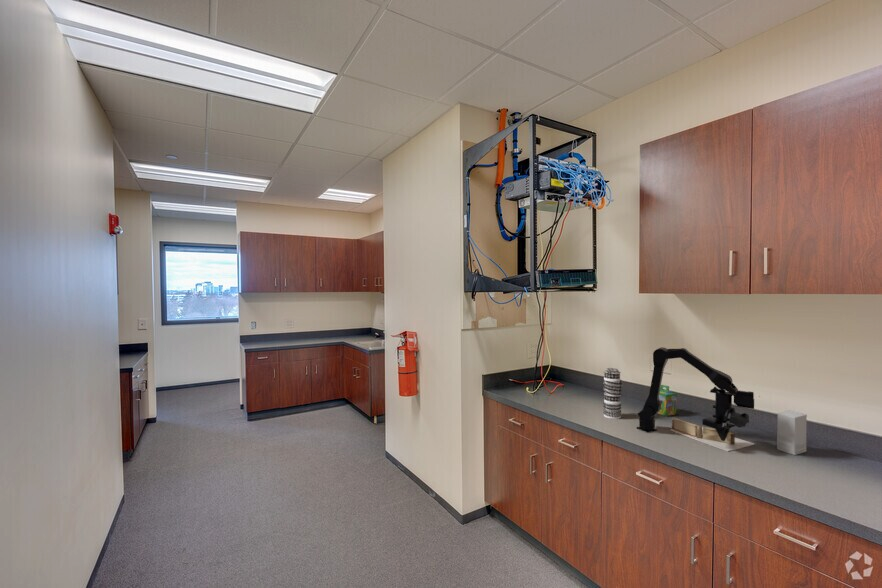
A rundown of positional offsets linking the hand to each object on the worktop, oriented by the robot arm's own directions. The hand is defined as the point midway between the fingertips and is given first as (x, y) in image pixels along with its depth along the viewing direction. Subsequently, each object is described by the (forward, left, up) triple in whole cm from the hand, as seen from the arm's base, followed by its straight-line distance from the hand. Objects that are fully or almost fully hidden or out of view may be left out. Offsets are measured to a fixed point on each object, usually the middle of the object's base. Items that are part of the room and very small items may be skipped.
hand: (723, 440), depth 167 cm
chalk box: (+16, +40, -2) cm, 43 cm away
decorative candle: (-13, +47, -2) cm, 49 cm away
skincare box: (+20, -15, -2) cm, 25 cm away
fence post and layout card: (+4, +9, -2) cm, 10 cm away
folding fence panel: (+2, +3, -2) cm, 4 cm away
